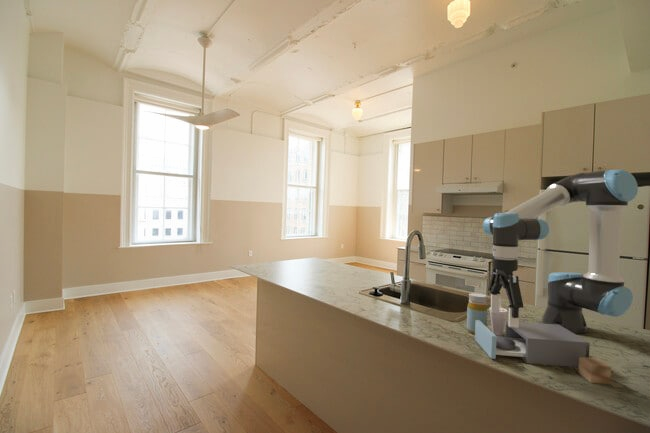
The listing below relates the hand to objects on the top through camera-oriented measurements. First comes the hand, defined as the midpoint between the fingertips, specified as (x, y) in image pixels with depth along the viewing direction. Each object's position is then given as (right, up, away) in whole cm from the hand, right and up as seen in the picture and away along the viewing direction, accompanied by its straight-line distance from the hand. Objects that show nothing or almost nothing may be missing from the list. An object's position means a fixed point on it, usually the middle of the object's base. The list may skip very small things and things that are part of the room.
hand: (503, 319), depth 105 cm
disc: (-1, -9, 0) cm, 9 cm away
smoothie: (+7, -11, +15) cm, 20 cm away
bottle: (-1, -11, +16) cm, 20 cm away
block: (+17, -12, -16) cm, 26 cm away
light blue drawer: (+2, -11, 0) cm, 11 cm away
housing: (+13, -11, -1) cm, 17 cm away
